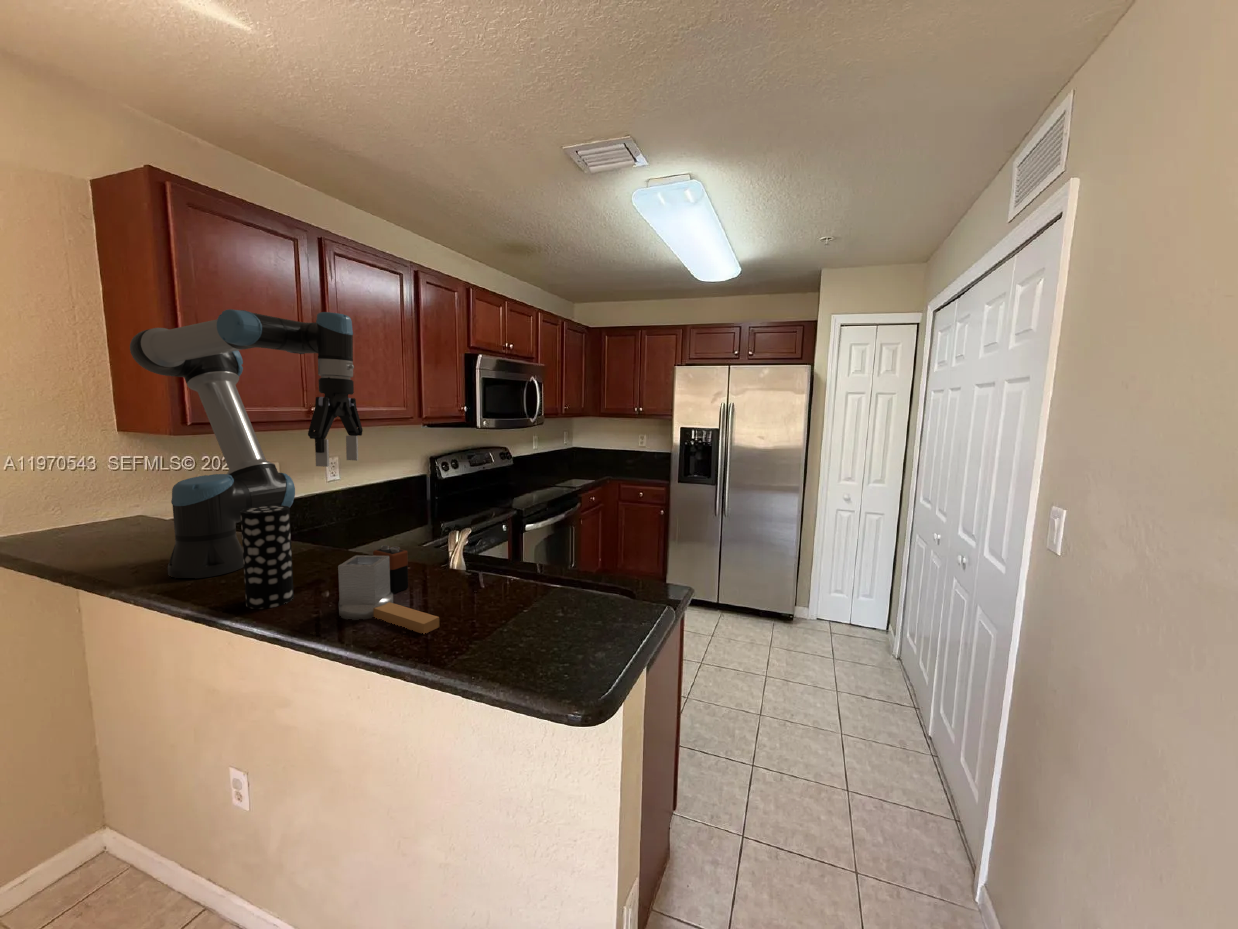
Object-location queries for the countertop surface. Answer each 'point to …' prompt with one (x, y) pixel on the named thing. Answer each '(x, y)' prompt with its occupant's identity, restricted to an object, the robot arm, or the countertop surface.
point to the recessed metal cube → (364, 580)
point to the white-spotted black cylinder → (267, 556)
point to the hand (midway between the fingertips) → (338, 463)
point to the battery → (396, 567)
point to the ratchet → (391, 614)
